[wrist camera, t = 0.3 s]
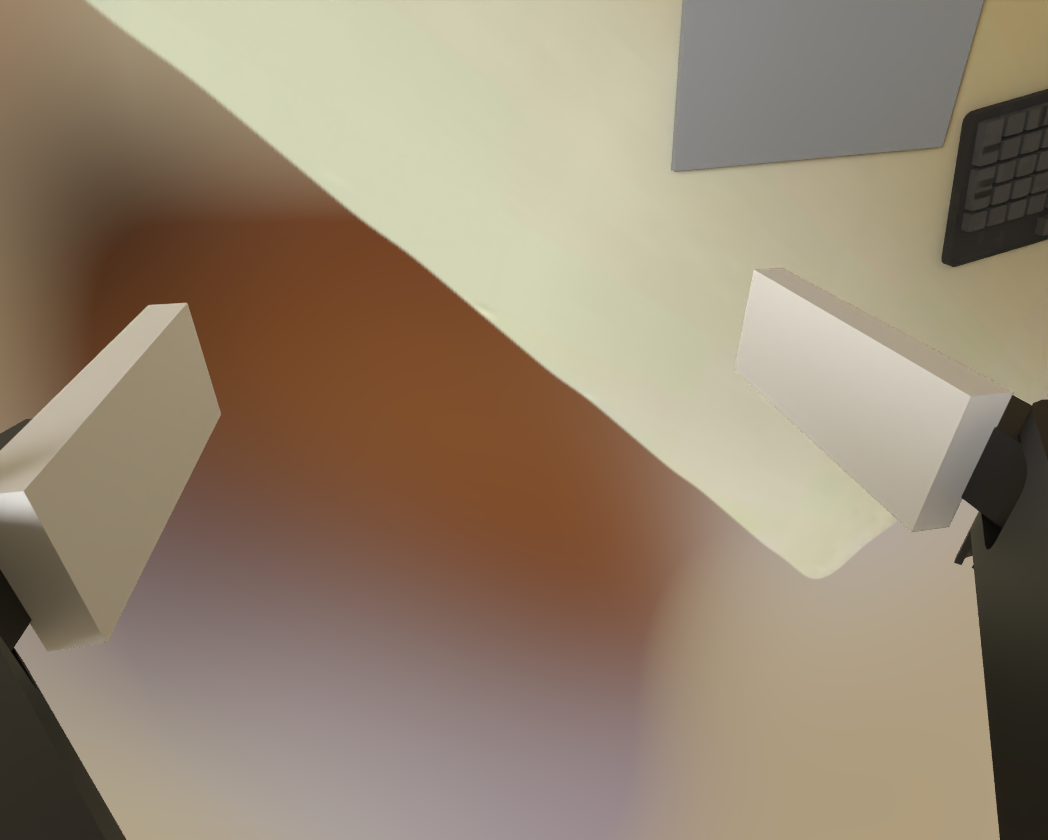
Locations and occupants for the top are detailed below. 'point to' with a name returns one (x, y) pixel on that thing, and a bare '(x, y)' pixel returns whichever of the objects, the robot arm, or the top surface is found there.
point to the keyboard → (999, 181)
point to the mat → (816, 78)
